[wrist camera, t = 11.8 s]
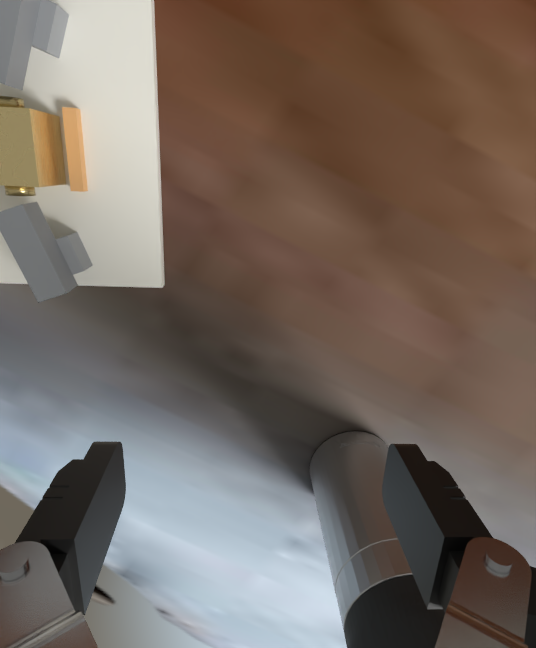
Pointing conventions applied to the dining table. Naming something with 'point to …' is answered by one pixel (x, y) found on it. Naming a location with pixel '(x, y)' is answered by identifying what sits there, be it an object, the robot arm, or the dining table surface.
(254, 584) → the dining table surface
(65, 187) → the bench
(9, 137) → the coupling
